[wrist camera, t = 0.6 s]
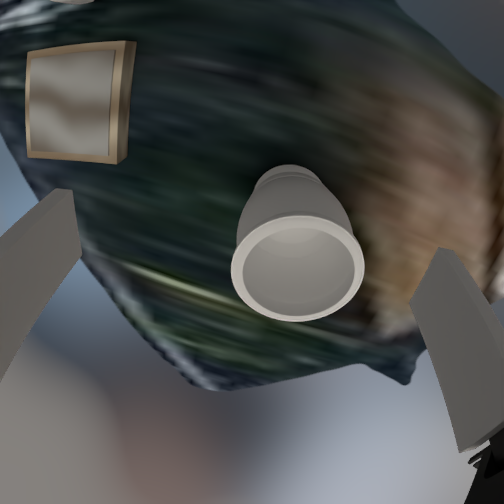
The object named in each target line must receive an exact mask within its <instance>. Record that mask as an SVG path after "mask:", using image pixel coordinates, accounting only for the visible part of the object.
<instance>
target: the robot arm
mask: <svg viewBox="0 0 504 504" xmlns="http://www.w3.org/2000/svg"><path fill="white" fill-rule="evenodd" d="M81 256H82V250H81V245H80V239H79V234H78V228H77V221H76V215H75V208H74V201H73V193H72V190H66V189H55V190H53V191H52V192H51V193H50V194H48V195H47V196H46V197H45V198H44V199H42V200H41V201H40V202H39V203H38V204H36V205H35V206H34V207H33V208H32V209H31V210H30V211H28V212H27V213H26V214H25V215H24V216H23V217H22V218H20V219H19V220H18V221H17V222H16V223H15V224H14V225H13V226H12V227H11V228H10V229H8V230H7V231H6V232H5V233H4V234H3V235H2V236H1V237H0V382H1V380H2V378H3V376H4V374H5V372H6V371H7V369H8V367H9V365H10V363H11V361H12V360H13V358H14V356H15V354H16V352H17V351H18V349H19V348H20V346H21V344H22V342H23V341H24V339H25V337H26V336H27V334H28V332H29V331H30V329H31V328H32V326H33V324H34V323H35V321H36V320H37V318H38V317H39V315H40V313H41V312H42V310H43V309H44V307H45V306H46V304H47V303H48V301H49V300H50V298H51V297H52V295H53V294H54V293H55V291H56V290H57V288H58V287H59V285H60V284H61V283H62V281H63V280H64V278H65V277H66V276H67V274H68V273H69V271H70V270H71V269H72V267H73V266H74V265H75V263H76V262H77V261H78V259H79V258H80V257H81ZM409 304H410V307H411V309H412V312H413V314H414V316H415V319H416V321H417V324H418V326H419V329H420V331H421V334H422V336H423V339H424V341H425V344H426V347H427V349H428V352H429V355H430V357H431V360H432V363H433V366H434V369H435V371H436V374H437V377H438V380H439V384H440V387H441V390H442V392H443V396H444V399H445V402H446V406H447V409H448V412H449V416H450V419H451V423H452V427H453V430H454V434H455V438H456V442H457V446H458V450H459V453H462V452H465V451H469V450H472V449H476V448H477V447H478V446H480V445H481V444H483V443H484V442H486V441H487V440H488V439H489V441H490V445H489V446H488V447H486V448H485V449H483V450H482V451H480V452H479V453H477V454H476V455H474V456H473V457H471V458H470V460H469V462H468V464H471V463H473V462H474V461H476V460H477V459H479V458H481V460H480V461H478V462H476V463H475V464H474V465H473V467H475V468H477V472H476V475H475V478H474V480H473V483H472V486H471V488H470V491H469V493H468V496H467V498H466V500H465V503H464V504H504V329H503V327H502V325H501V323H500V322H499V320H498V318H497V317H496V315H495V313H494V312H493V310H492V308H491V306H490V305H489V303H488V301H487V300H486V298H485V297H484V295H483V293H482V292H481V290H480V289H479V287H478V286H477V284H476V283H475V281H474V280H473V278H472V277H471V275H470V274H469V272H468V271H467V269H466V268H465V266H464V265H463V263H462V262H461V261H460V259H459V258H458V256H457V255H456V254H455V252H454V251H453V250H449V249H445V248H440V247H438V249H437V251H436V253H435V255H434V257H433V259H432V261H431V263H430V265H429V267H428V269H427V271H426V273H425V275H424V277H423V278H422V280H421V282H420V284H419V286H418V288H417V289H416V291H415V293H414V295H413V297H412V298H411V300H410V302H409Z"/></svg>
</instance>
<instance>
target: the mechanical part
mask: <svg viewBox="0 0 504 504" xmlns="http://www.w3.org/2000/svg"><path fill="white" fill-rule="evenodd" d="M51 1H54V2H61V3H67V4H85V3H90V2H93V1H94V0H51Z"/></svg>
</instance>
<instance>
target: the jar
mask: <svg viewBox="0 0 504 504" xmlns="http://www.w3.org/2000/svg"><path fill="white" fill-rule="evenodd" d="M363 275H364V258H363V254H362V250H361V248H360V245H359V243H358V241H357V240H356V238H355V237H354V235H353V232H352V228H351V225H350V222H349V219H348V217H347V214H346V212H345V210H344V209H343V207H342V205H341V204H340V202H339V201H338V200H337V198H336V197H335V196H334V195H333V194H332V193H331V192H330V191H329V190H328V189H327V188H326V187H325V186H324V185H323V184H322V182H321V181H320V179H319V178H318V177H317V176H316V175H315V174H314V173H313V172H311V171H310V170H308V169H306V168H304V167H301V166H297V165H281V166H277V167H274V168H272V169H270V170H269V171H267V172H266V173H265V174H263V175H262V176H261V178H260V179H259V180H258V182H257V184H256V186H255V189H254V191H253V193H252V195H251V196H250V198H249V200H248V201H247V203H246V205H245V207H244V209H243V211H242V214H241V217H240V220H239V224H238V230H237V247H236V250H235V252H234V255H233V259H232V264H231V277H232V281H233V285H234V287H235V289H236V291H237V293H238V294H239V296H240V297H241V298H242V300H243V301H244V302H245V303H246V304H247V305H249V306H250V307H251V308H252V309H254V310H255V311H257V312H259V313H261V314H263V315H265V316H268V317H270V318H274V319H278V320H283V321H308V320H314V319H318V318H321V317H324V316H327V315H329V314H331V313H333V312H335V311H337V310H338V309H340V308H341V307H343V306H344V305H345V304H346V303H347V302H348V301H349V300H350V299H351V298H352V297H353V296H354V295H355V293H356V292H357V290H358V289H359V287H360V285H361V282H362V279H363Z"/></svg>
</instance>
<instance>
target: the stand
mask: <svg viewBox="0 0 504 504" xmlns="http://www.w3.org/2000/svg"><path fill="white" fill-rule="evenodd" d="M136 44H137V42H133V41H111V42H96V43H86V44H76V45H68V46H61V47H54V48H48V49H42V50H37V51H31V52H28V56H27V70H26V100H25V108H26V139H27V154H28V157H30V158H48V159H63V160H76V161H88V162H99V163H109V164H118V163H119V162H121V161H122V160H123V159H124V158H126V157H127V148H128V126H129V110H130V97H131V86H132V76H133V67H134V59H135V51H136Z"/></svg>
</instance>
